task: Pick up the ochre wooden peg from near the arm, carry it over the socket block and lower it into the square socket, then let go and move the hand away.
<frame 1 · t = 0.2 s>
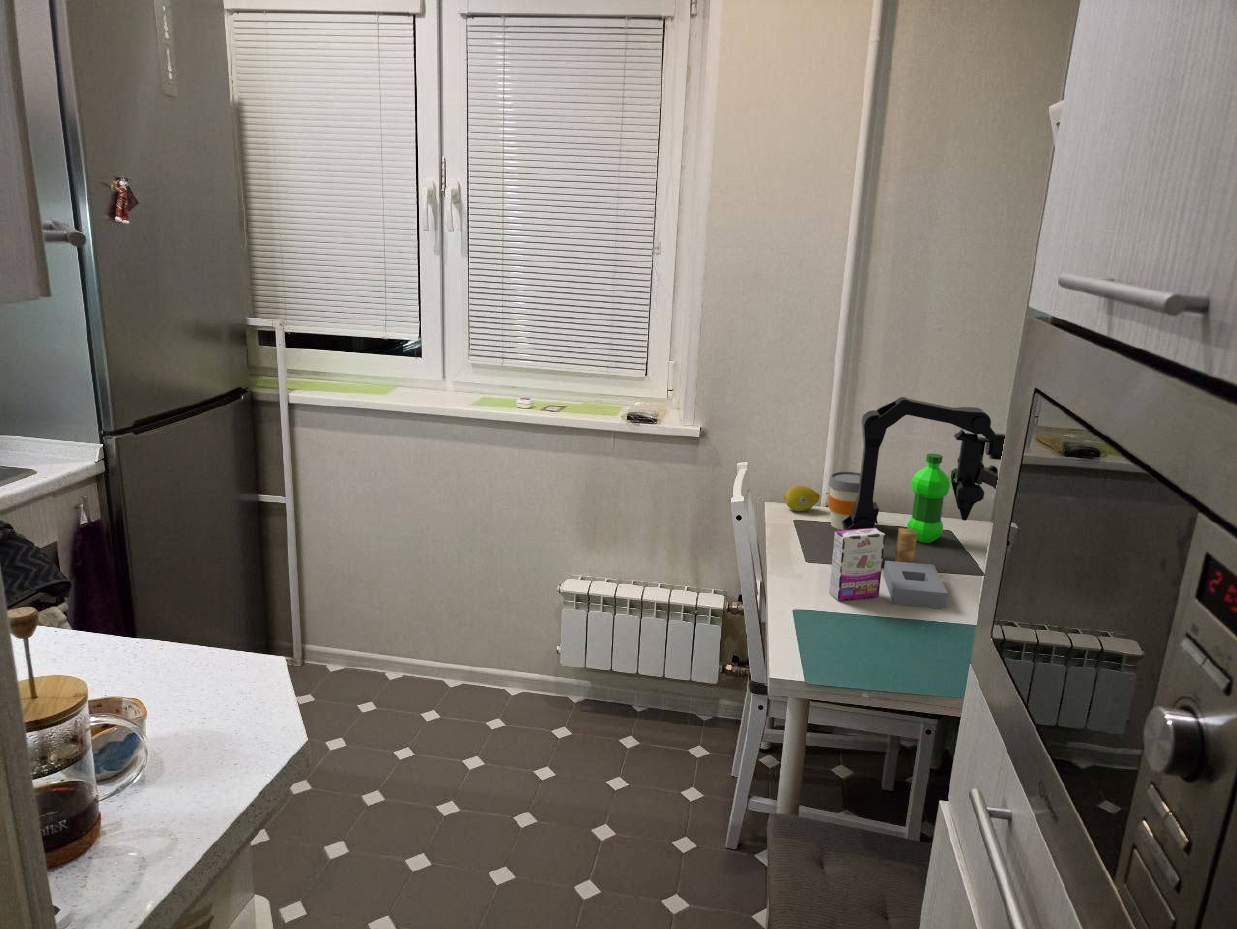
hand: (962, 514, 236), 14 cm above the table, tool pointing down, fingers open, 9 cm apart
plastic bottle: (923, 540, 258), on the table
lemon: (800, 511, 280), on the table
socket block: (913, 591, 222), on the table
reusable coffee cup: (846, 526, 268), on the table
candy bar box: (853, 596, 219), on the table
peg: (903, 567, 237), on the table
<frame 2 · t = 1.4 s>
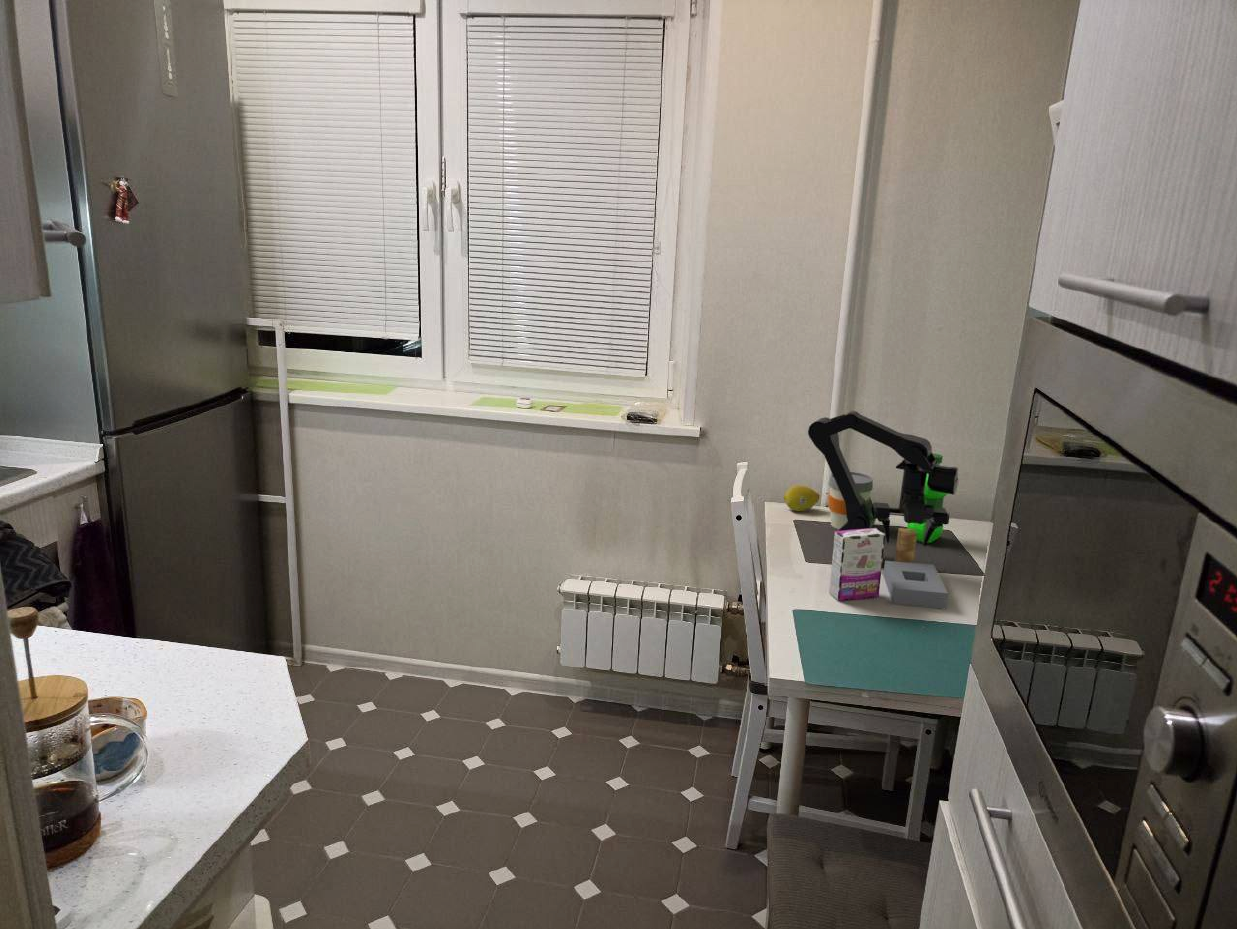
hand: (905, 544, 236), 6 cm above the table, tool pointing down, fingers open, 9 cm apart
nothing on the table moved.
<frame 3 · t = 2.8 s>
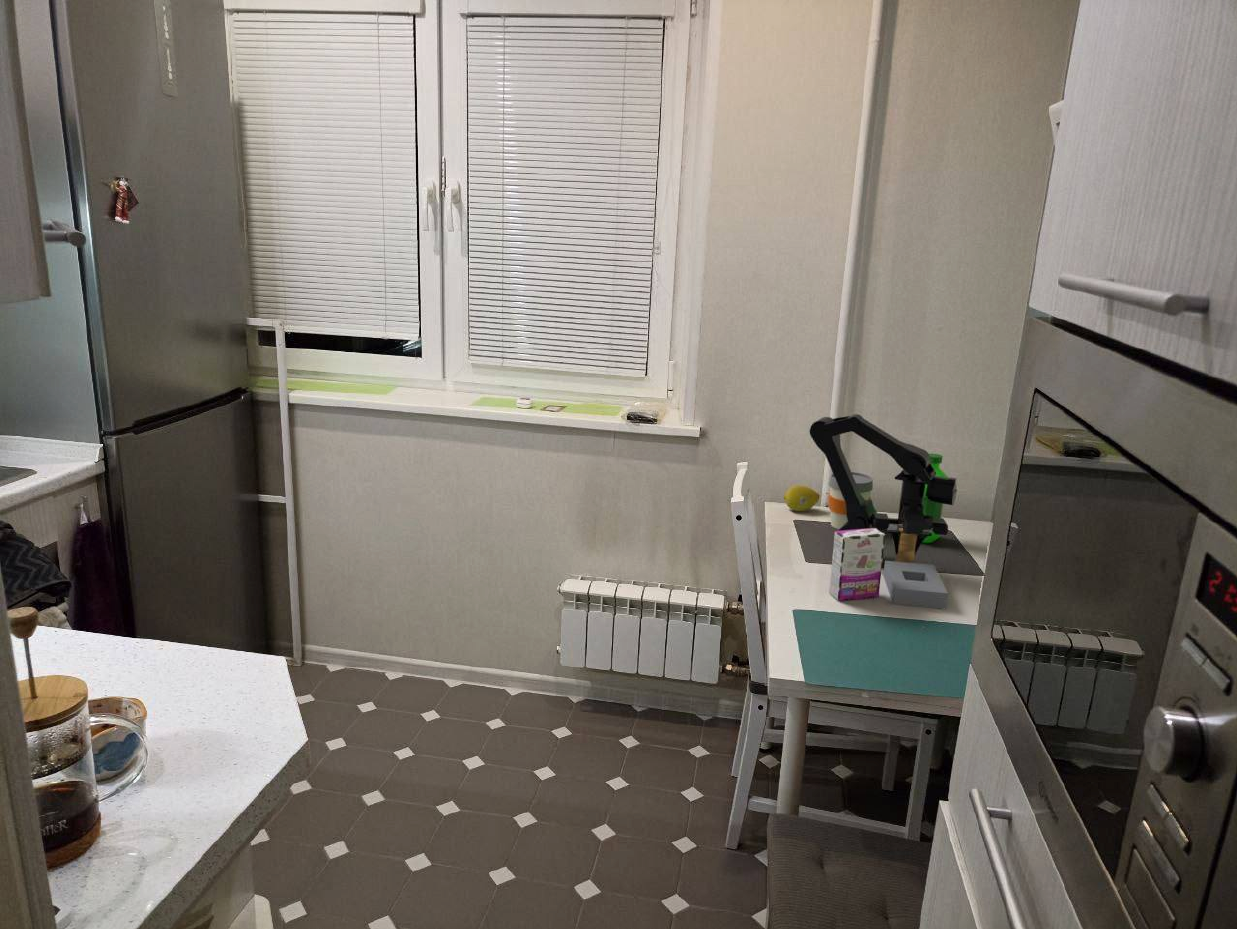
hand: (904, 554, 236), 4 cm above the table, tool pointing down, fingers closed on peg, 4 cm apart
peg: (903, 567, 237), on the table, touching gripper
everything else where it was.
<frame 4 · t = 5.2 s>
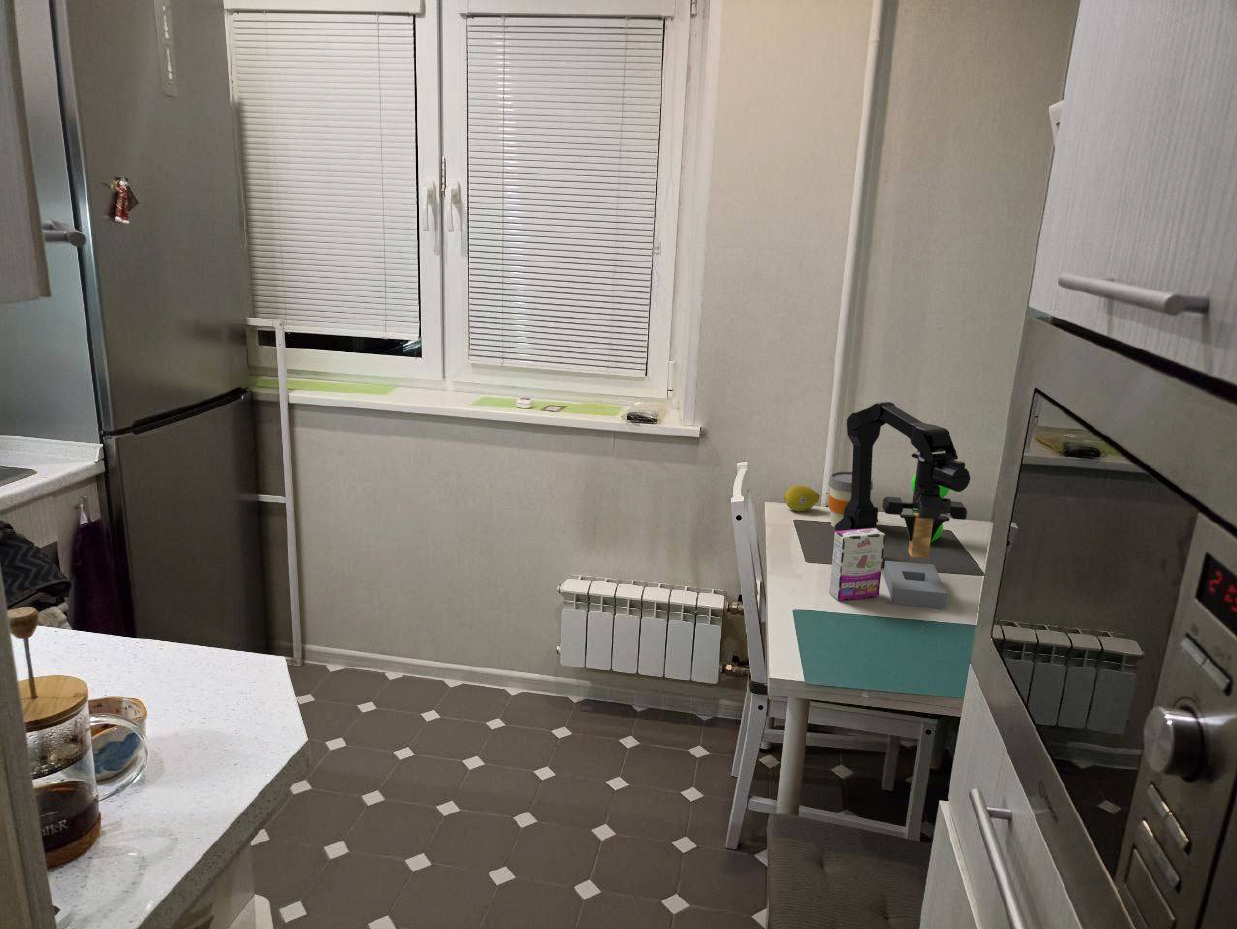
hand: (919, 541, 219), 13 cm above the table, tool pointing down, fingers closed on peg, 4 cm apart
peg: (918, 555, 220), point 10 cm above the table, touching gripper
everything else where it was.
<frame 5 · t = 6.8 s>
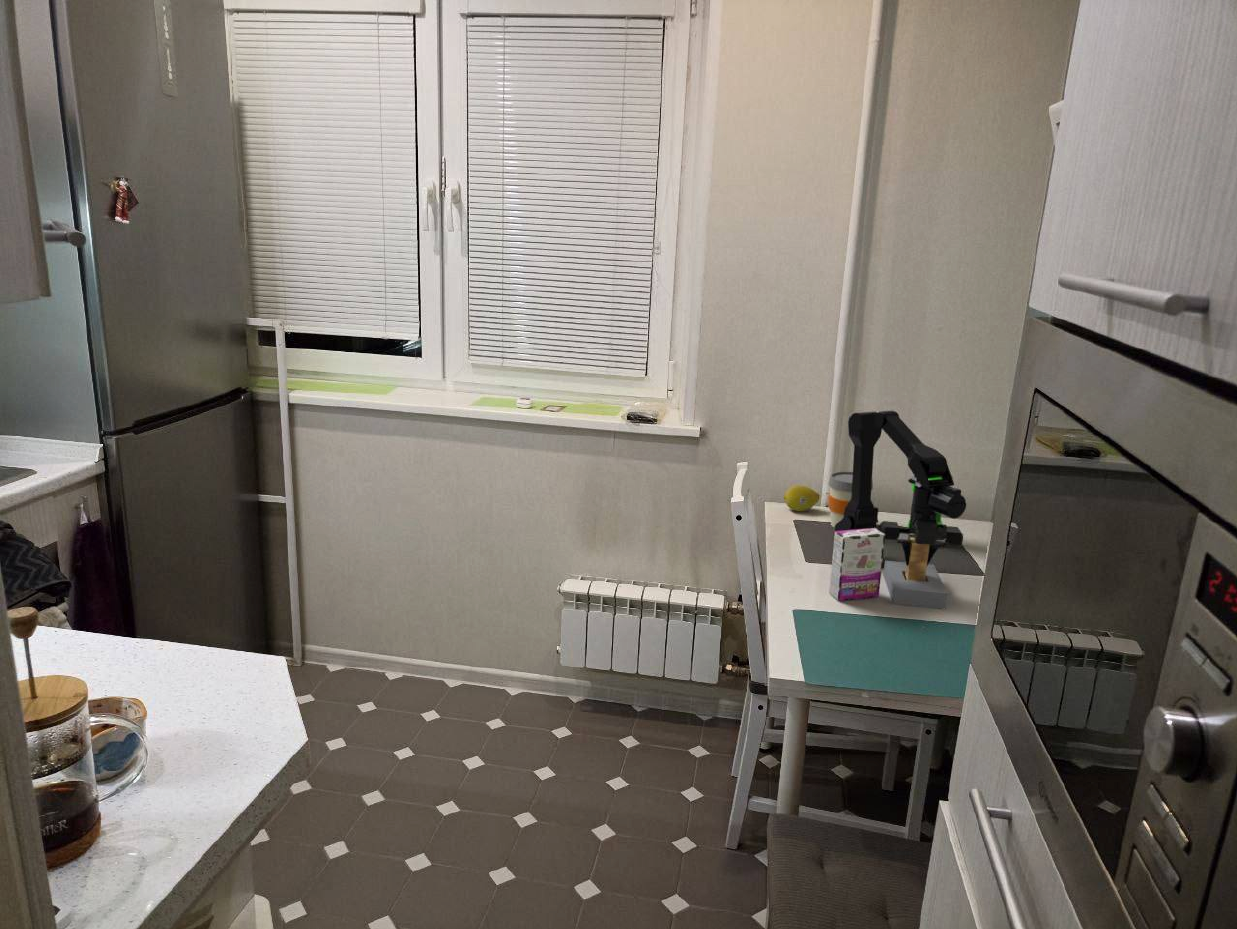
hand: (916, 565, 220), 7 cm above the table, tool pointing down, fingers closed on peg, 4 cm apart
peg: (914, 579, 221), point 3 cm above the table, touching gripper
everything else where it was.
when the fingers open (5 cm above the table, at t = 7.8 s): peg drops 2 cm, resting in socket block.
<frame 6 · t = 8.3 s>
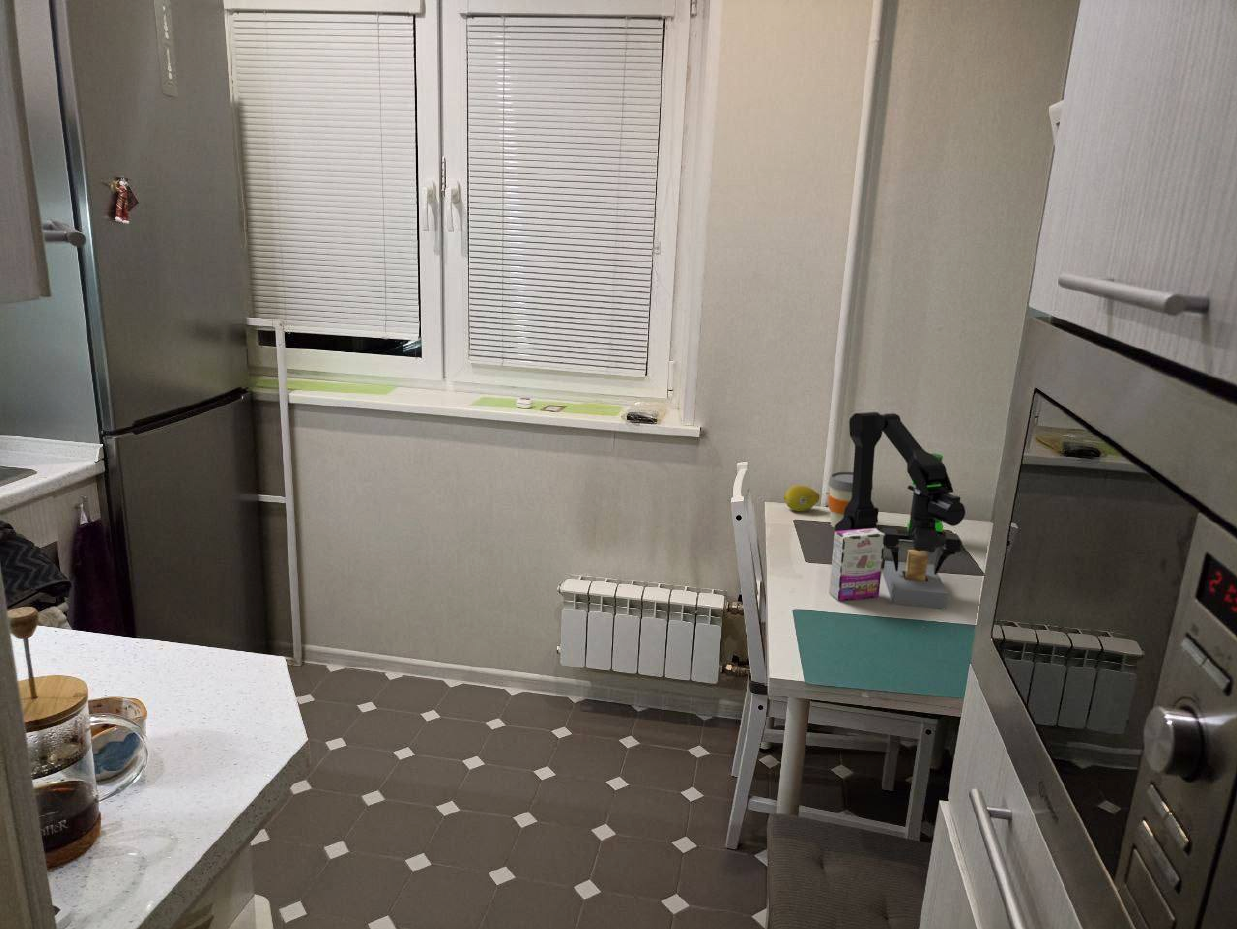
hand: (915, 572, 221), 5 cm above the table, tool pointing down, fingers open, 9 cm apart
peg: (913, 591, 222), resting in socket block
everything else where it was.
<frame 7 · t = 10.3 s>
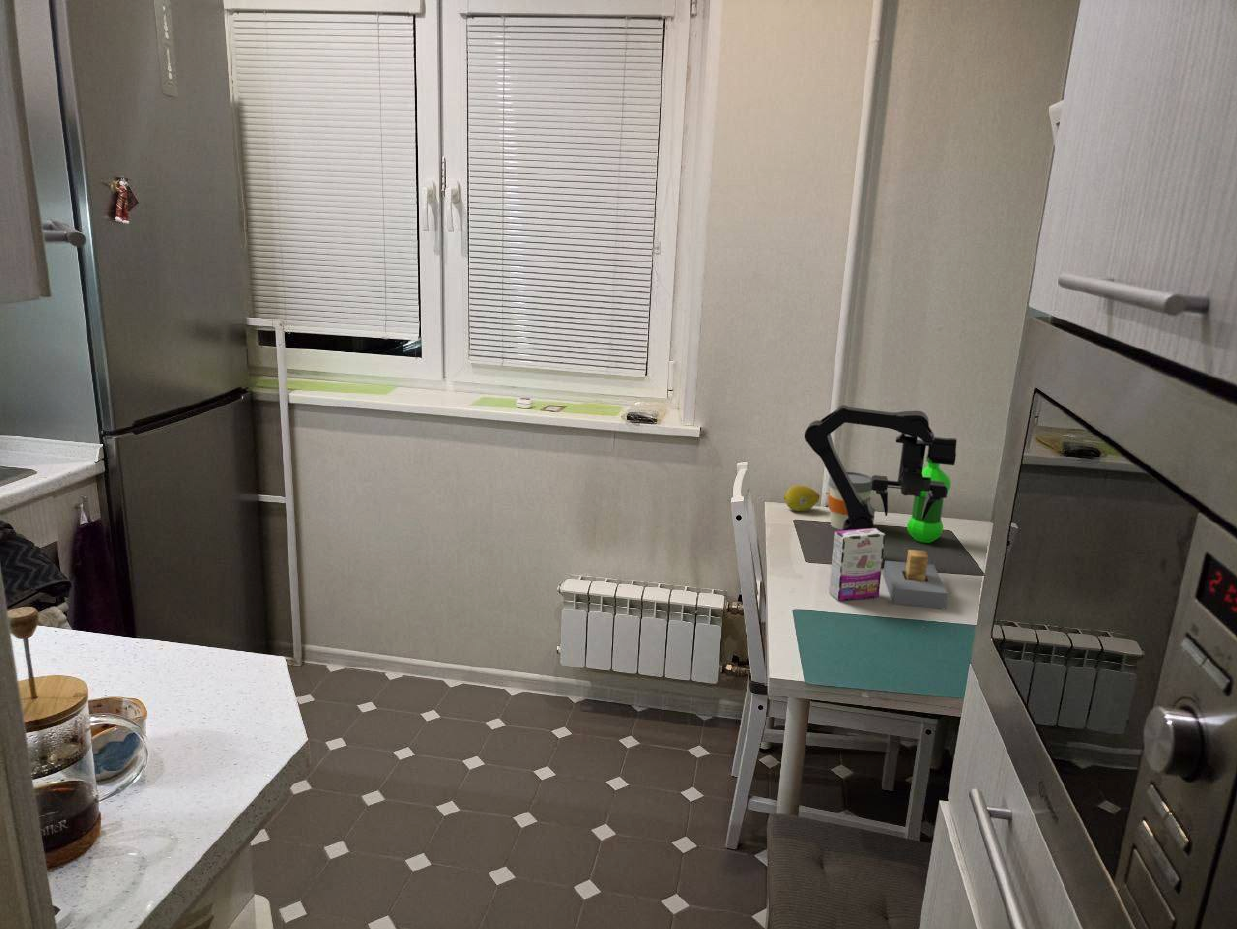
hand: (904, 517, 237), 13 cm above the table, tool pointing down, fingers open, 9 cm apart
nothing on the table moved.
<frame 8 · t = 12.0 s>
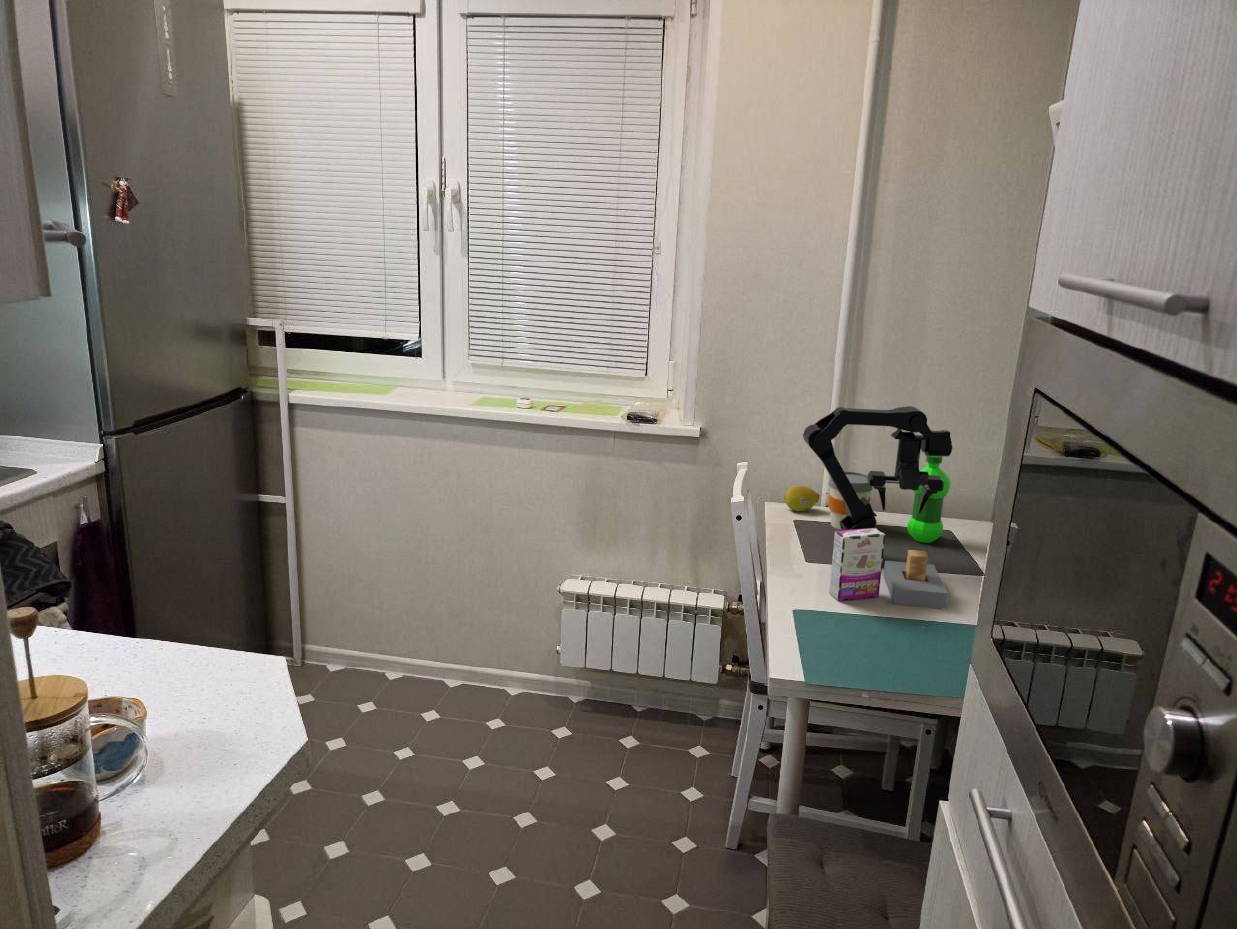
hand: (901, 511, 241), 13 cm above the table, tool pointing down, fingers open, 9 cm apart
nothing on the table moved.
at the end: peg 0.1 cm off-centre on the socket block, point 0.0 cm above the socket block's base; peg tilted 0°; the gripper is holding nothing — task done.
